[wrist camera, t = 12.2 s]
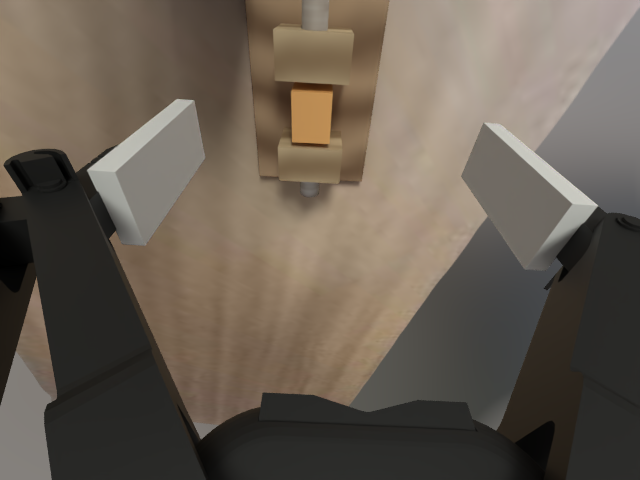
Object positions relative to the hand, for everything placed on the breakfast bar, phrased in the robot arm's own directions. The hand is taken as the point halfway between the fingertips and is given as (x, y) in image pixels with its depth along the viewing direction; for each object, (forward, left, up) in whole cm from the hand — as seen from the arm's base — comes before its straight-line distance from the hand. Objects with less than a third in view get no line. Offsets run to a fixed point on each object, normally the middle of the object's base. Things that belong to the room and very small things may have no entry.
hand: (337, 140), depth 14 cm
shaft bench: (+5, -2, -25) cm, 25 cm away
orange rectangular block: (+5, -2, -23) cm, 24 cm away
